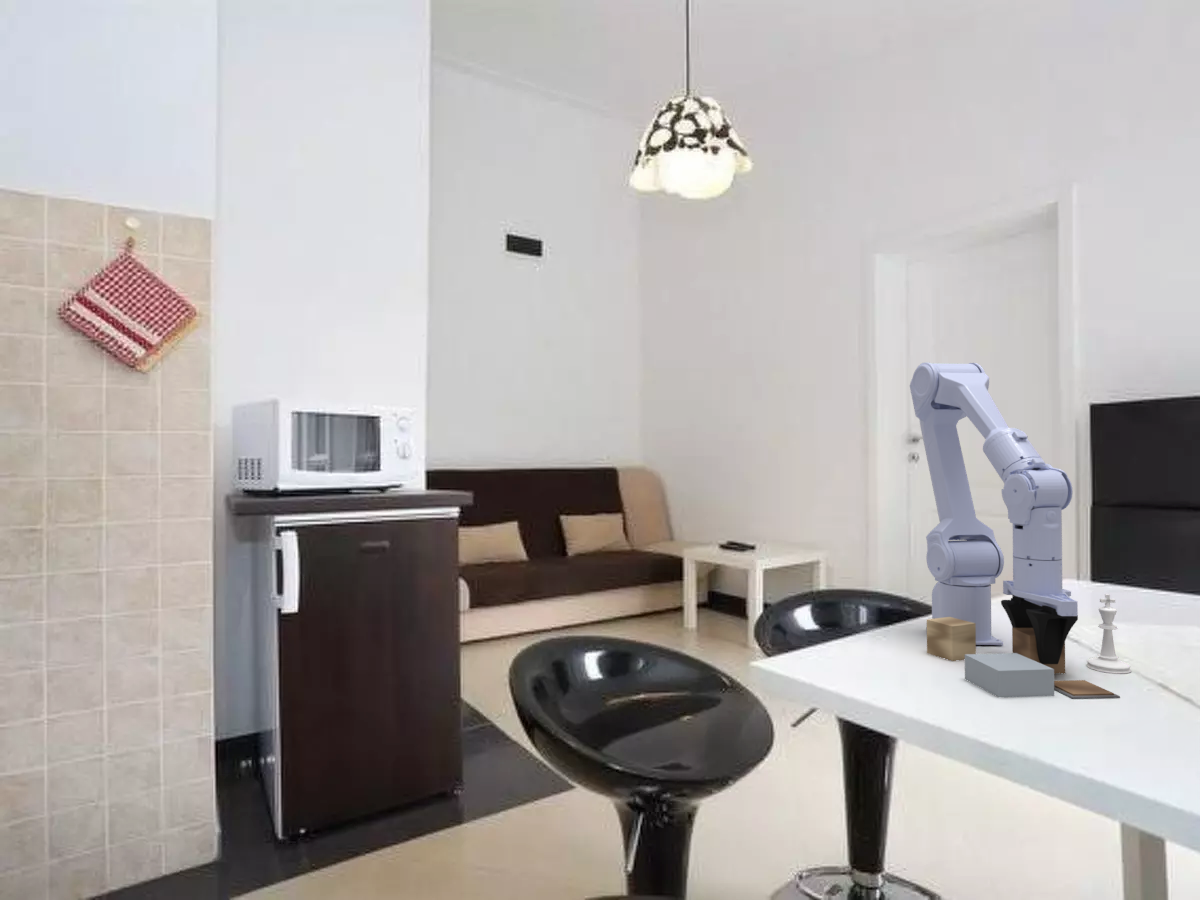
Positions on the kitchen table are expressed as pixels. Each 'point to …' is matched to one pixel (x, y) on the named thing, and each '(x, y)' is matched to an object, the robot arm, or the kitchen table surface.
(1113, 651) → the chess piece
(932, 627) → the oak block
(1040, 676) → the base block
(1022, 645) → the walnut block
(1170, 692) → the kitchen table surface
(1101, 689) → the walnut swatch
